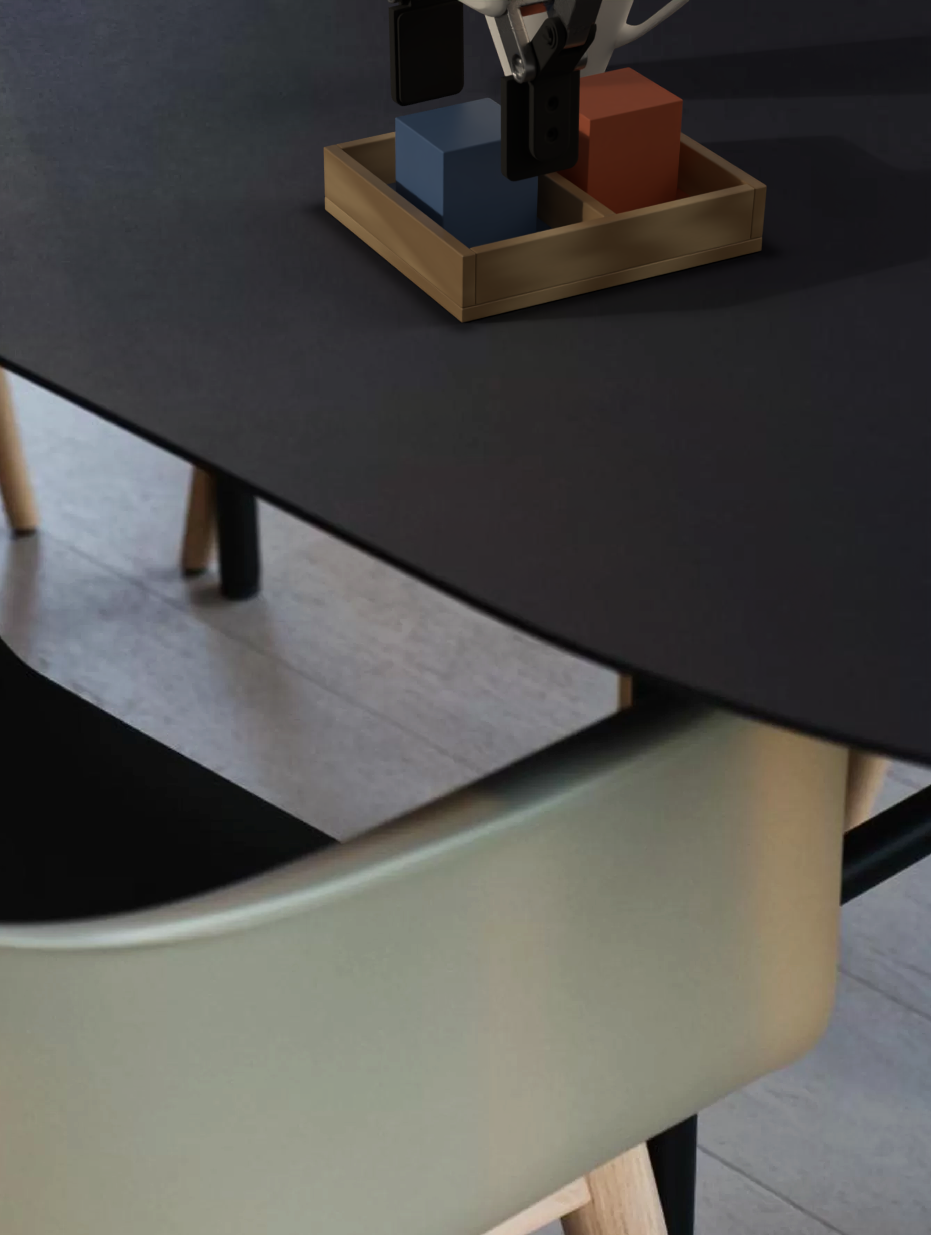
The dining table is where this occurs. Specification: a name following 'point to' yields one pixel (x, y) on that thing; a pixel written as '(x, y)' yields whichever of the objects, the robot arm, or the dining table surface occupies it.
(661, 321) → the dining table surface
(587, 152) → the terracotta block
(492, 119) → the blue block
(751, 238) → the tray
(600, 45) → the mug
